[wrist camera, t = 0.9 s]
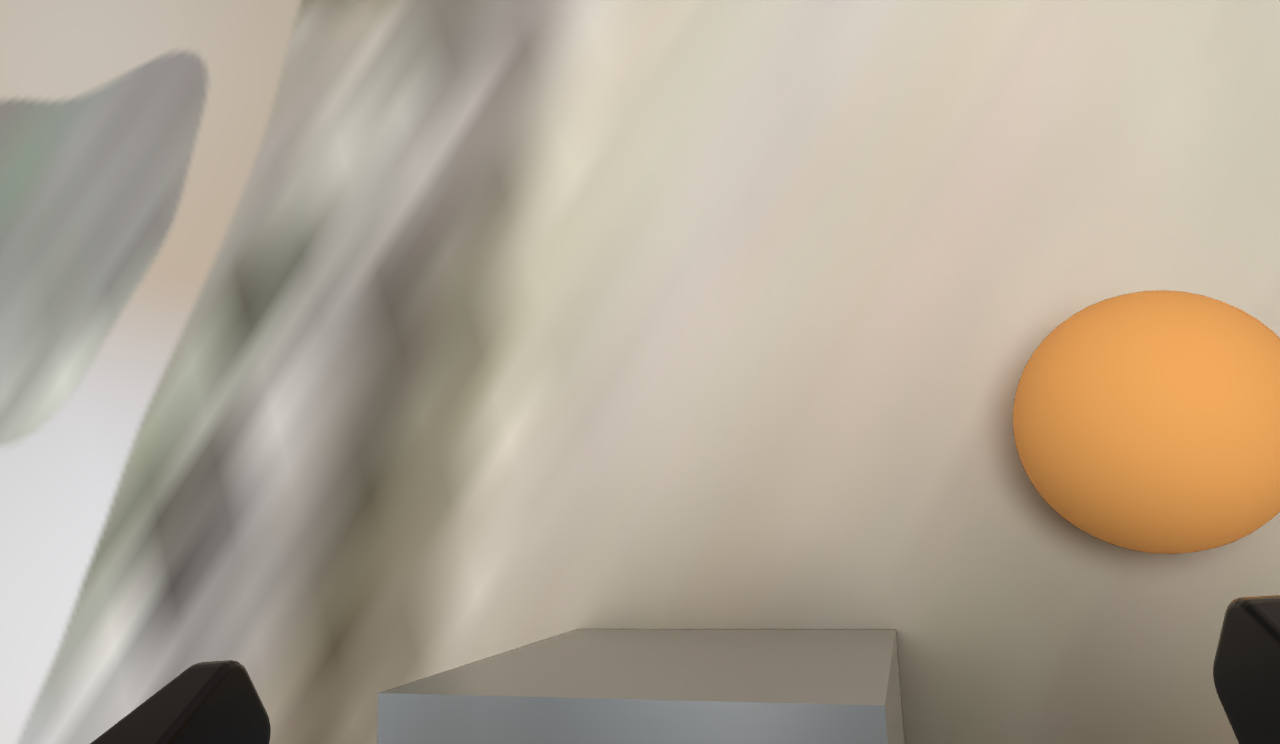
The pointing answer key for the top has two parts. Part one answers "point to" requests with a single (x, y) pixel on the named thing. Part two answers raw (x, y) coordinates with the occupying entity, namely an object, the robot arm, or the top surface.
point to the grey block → (662, 691)
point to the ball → (1155, 421)
